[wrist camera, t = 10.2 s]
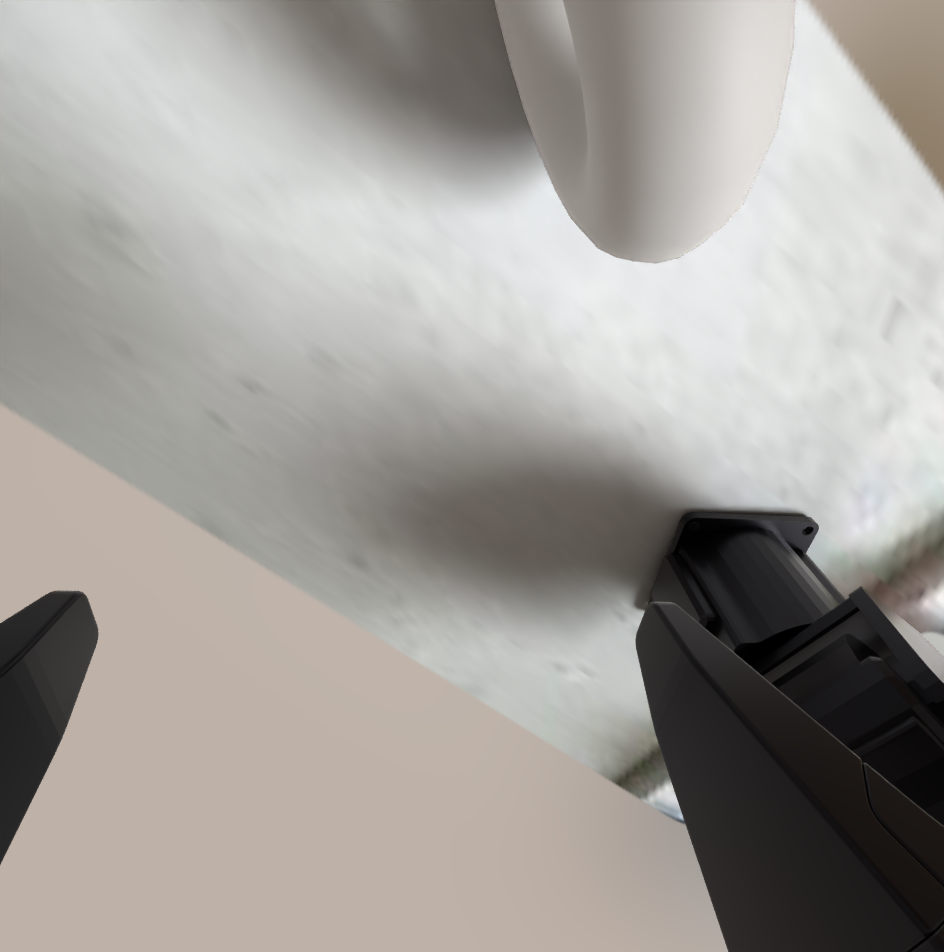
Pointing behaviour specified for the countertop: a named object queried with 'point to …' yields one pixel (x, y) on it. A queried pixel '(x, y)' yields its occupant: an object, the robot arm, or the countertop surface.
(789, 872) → the robot arm
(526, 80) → the donut
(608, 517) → the countertop surface
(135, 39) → the countertop surface
